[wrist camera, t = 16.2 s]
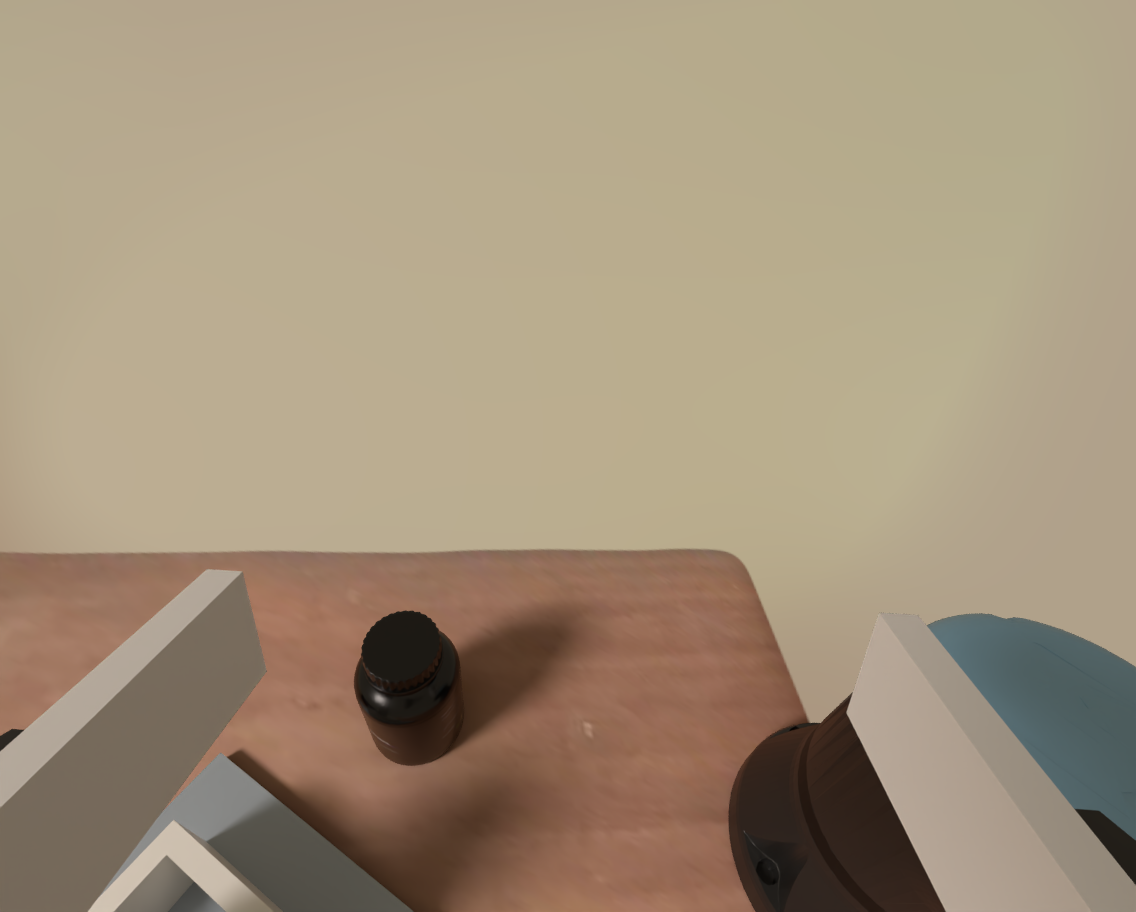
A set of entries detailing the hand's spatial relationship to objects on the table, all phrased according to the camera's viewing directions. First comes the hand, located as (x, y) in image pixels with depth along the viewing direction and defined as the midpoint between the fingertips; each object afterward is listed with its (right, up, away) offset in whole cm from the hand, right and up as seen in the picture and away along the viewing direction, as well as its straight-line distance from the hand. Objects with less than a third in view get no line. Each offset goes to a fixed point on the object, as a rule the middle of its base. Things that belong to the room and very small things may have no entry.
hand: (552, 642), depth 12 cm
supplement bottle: (-11, -17, +30) cm, 36 cm away
